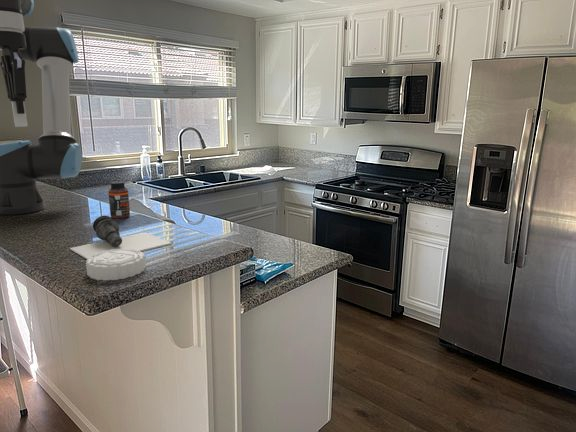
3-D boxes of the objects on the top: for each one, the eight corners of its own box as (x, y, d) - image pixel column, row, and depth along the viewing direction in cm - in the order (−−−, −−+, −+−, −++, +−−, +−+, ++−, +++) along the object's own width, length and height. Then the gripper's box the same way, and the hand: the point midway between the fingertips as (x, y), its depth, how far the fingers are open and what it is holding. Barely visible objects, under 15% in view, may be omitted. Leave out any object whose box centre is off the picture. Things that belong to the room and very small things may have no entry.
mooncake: (74, 277, 93) (72, 261, 92) (114, 259, 104) (113, 244, 103) (120, 284, 89) (118, 268, 88) (157, 265, 100) (156, 250, 99)
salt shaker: (89, 217, 114) (104, 238, 106) (112, 212, 118) (128, 231, 109) (93, 237, 117) (108, 258, 109) (116, 231, 120) (132, 251, 112)
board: (70, 249, 110) (70, 248, 110) (145, 233, 124) (144, 232, 124) (93, 263, 100) (92, 261, 100) (171, 244, 114) (171, 242, 114)
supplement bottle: (123, 219, 140) (120, 184, 137) (106, 218, 141) (103, 183, 138) (133, 215, 145) (130, 180, 143) (117, 214, 146) (114, 180, 144)
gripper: (-16, 33, 114) (-2, 126, 120) (-3, 26, 105) (12, 127, 111) (17, 36, 120) (29, 125, 125) (32, 30, 111) (44, 126, 116)
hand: (21, 126), depth 118 cm, fingers closed
